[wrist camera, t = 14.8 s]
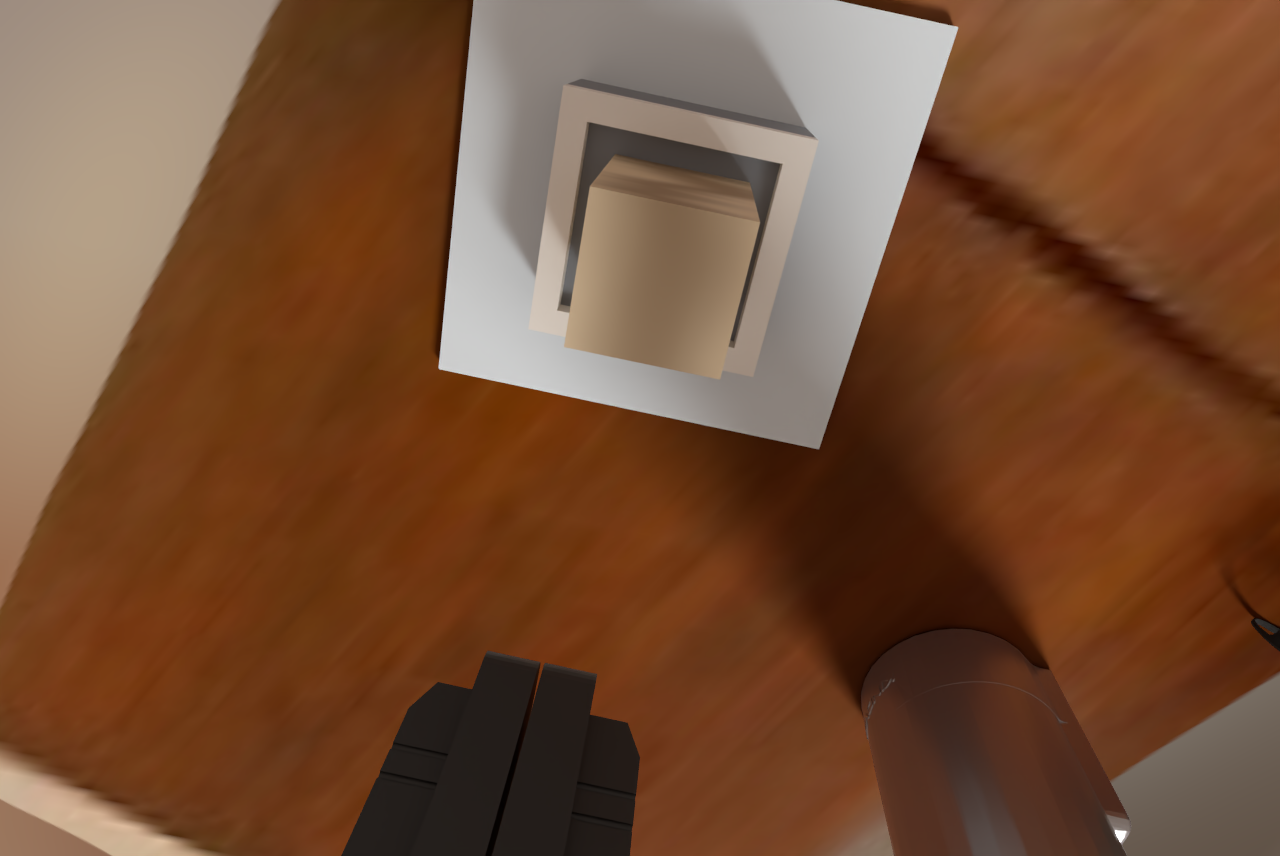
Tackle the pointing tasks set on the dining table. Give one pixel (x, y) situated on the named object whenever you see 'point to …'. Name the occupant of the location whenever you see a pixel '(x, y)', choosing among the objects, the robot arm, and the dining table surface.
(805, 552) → the dining table surface
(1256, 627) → the glasses
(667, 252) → the maple block
